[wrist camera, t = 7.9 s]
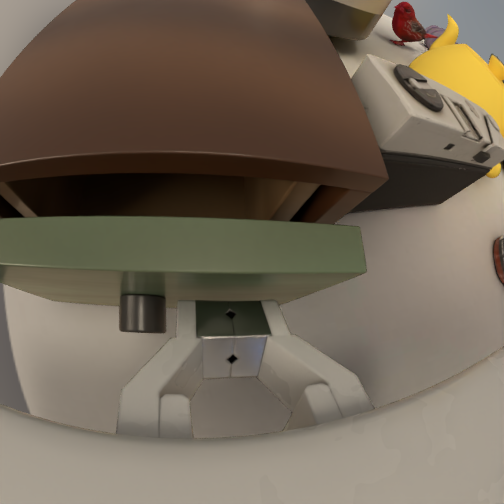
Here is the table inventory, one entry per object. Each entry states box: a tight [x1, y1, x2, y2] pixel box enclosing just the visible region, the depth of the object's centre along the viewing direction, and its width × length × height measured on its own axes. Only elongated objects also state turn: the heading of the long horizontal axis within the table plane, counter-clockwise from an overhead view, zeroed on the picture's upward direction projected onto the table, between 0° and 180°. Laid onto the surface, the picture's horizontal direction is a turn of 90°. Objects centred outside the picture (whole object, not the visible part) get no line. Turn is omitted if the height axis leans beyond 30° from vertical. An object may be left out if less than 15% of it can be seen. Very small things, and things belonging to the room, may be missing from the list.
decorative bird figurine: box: [390, 2, 438, 46], centre depth 29 cm, size 3×18×10 cm, turn 113°
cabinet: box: [0, 0, 389, 224], centre depth 11 cm, size 15×13×10 cm
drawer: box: [0, 173, 367, 333], centre depth 10 cm, size 15×11×8 cm
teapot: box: [409, 14, 504, 178], centre depth 21 cm, size 25×18×14 cm
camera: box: [349, 54, 504, 212], centre depth 15 cm, size 14×8×10 cm, turn 103°
